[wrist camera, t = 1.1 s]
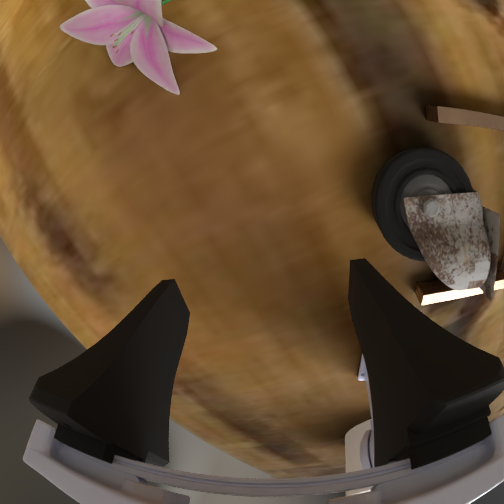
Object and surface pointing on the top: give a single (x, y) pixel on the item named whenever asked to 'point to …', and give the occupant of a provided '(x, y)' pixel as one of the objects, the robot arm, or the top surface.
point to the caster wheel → (437, 218)
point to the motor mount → (441, 292)
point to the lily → (136, 36)
